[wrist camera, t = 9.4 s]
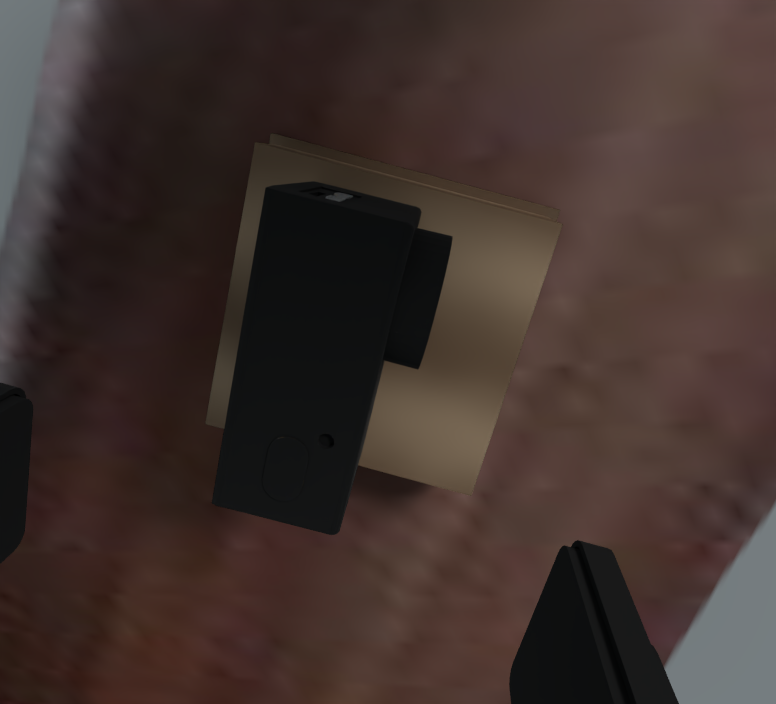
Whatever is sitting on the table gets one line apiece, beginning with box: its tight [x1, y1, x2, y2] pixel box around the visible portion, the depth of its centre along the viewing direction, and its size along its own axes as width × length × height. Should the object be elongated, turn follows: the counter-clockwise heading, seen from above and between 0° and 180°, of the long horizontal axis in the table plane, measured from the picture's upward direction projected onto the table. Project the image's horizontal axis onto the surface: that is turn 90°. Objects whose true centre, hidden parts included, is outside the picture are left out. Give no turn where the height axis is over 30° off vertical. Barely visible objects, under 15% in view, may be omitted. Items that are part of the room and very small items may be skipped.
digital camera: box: [212, 181, 453, 535], centre depth 22 cm, size 10×5×7 cm, turn 166°
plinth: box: [205, 133, 563, 496], centre depth 27 cm, size 13×13×4 cm
